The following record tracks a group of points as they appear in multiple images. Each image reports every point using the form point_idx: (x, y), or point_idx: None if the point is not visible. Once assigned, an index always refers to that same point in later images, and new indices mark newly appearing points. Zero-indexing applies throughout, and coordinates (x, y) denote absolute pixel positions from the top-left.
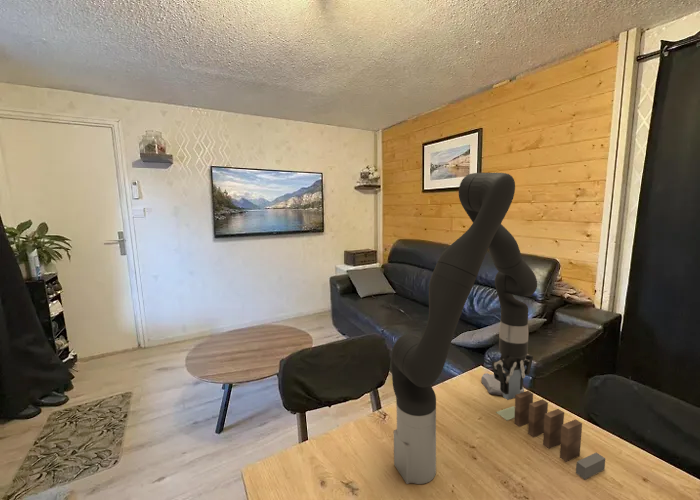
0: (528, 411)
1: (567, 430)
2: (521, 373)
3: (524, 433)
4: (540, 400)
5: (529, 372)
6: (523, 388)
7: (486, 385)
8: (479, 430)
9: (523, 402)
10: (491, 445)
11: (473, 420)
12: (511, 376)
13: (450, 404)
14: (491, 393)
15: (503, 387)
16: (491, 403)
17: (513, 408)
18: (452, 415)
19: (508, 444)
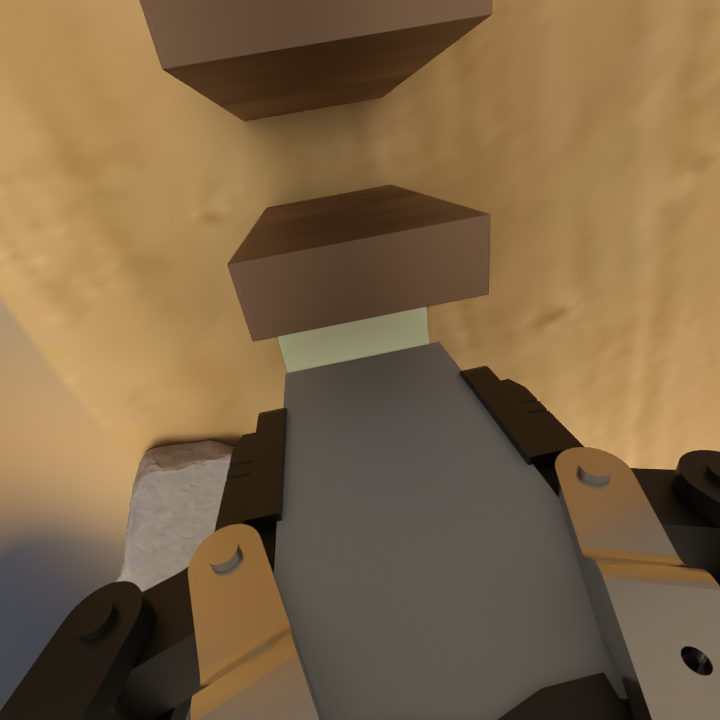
0: (305, 213)
1: None
2: (279, 618)
3: (403, 108)
4: (226, 45)
5: (58, 637)
6: (137, 486)
7: None
8: (639, 220)
9: (401, 213)
10: (698, 63)
11: (596, 306)
12: (516, 557)
13: (595, 435)
14: None
15: (550, 422)
16: None
17: (302, 353)
18: (655, 362)
19: (596, 31)
